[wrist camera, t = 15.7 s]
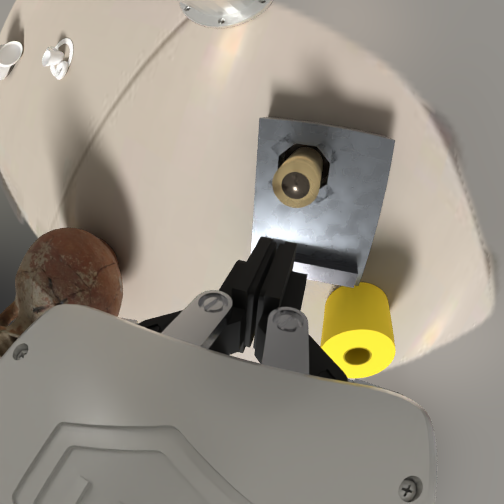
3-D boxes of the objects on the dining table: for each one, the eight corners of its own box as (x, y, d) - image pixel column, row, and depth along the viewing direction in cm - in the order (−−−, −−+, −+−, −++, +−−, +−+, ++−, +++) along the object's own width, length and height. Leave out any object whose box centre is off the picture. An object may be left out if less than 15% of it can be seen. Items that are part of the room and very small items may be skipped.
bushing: (291, 144, 30) (274, 159, 22) (325, 149, 29) (322, 166, 21) (287, 176, 32) (270, 203, 24) (320, 182, 31) (315, 211, 23)
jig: (268, 116, 29) (254, 118, 24) (387, 136, 26) (399, 142, 21) (258, 249, 38) (245, 273, 33) (357, 268, 35) (359, 296, 30)
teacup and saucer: (72, 76, 31) (55, 78, 28) (50, 83, 33) (34, 85, 29) (77, 33, 27) (60, 32, 23) (54, 43, 28) (38, 44, 25)
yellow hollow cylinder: (331, 277, 37) (327, 324, 29) (396, 287, 35) (406, 334, 27) (319, 326, 42) (313, 373, 34) (377, 334, 40) (379, 380, 32)
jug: (160, 303, 50) (69, 424, 25) (97, 299, 58) (21, 384, 33) (115, 198, 41) (-31, 303, 16) (58, 219, 49) (-42, 294, 24)
